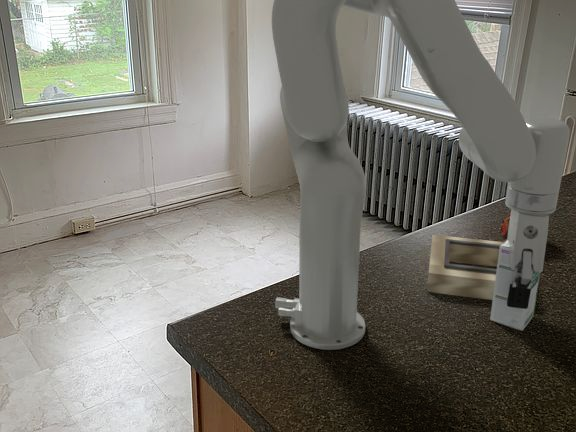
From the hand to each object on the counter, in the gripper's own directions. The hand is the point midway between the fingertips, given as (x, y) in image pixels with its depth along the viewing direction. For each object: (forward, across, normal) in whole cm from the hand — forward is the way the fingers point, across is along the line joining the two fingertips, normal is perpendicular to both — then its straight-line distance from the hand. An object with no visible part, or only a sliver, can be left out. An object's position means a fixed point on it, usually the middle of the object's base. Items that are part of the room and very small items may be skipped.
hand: (515, 294), depth 100 cm
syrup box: (+5, 0, 0) cm, 5 cm away
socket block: (+5, +14, +6) cm, 16 cm away
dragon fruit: (+5, +31, -4) cm, 32 cm away
